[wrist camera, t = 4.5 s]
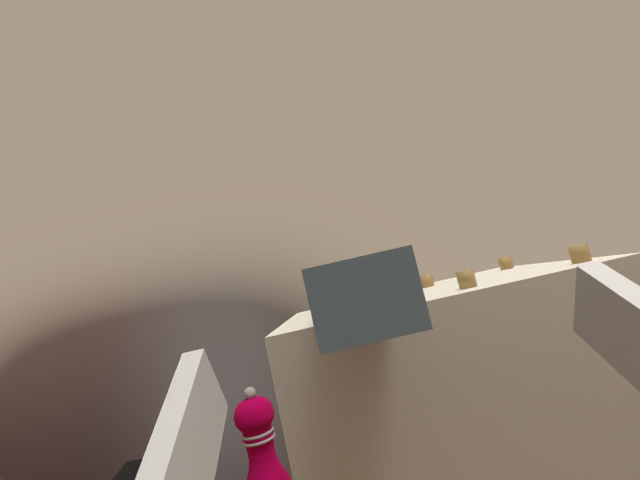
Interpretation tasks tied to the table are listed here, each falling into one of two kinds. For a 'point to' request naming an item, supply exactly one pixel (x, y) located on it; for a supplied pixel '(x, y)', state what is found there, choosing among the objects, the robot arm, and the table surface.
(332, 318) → the batten
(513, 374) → the plinth
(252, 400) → the pepper mill
